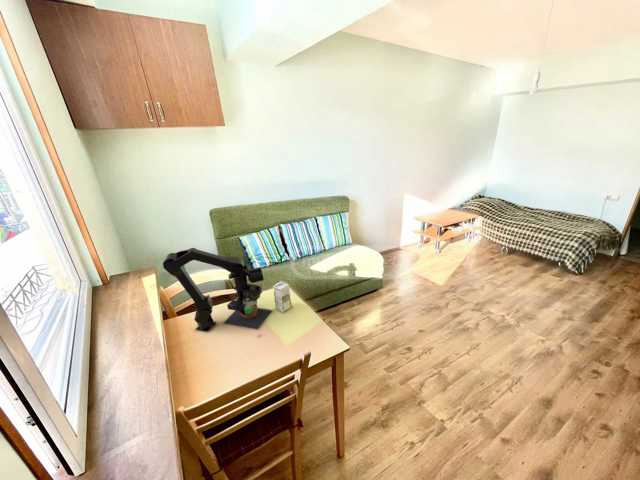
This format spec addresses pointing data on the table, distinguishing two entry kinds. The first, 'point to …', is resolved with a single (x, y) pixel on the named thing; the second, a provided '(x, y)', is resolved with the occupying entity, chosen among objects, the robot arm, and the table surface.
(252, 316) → the food container
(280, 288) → the syrup box
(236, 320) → the desk pad
